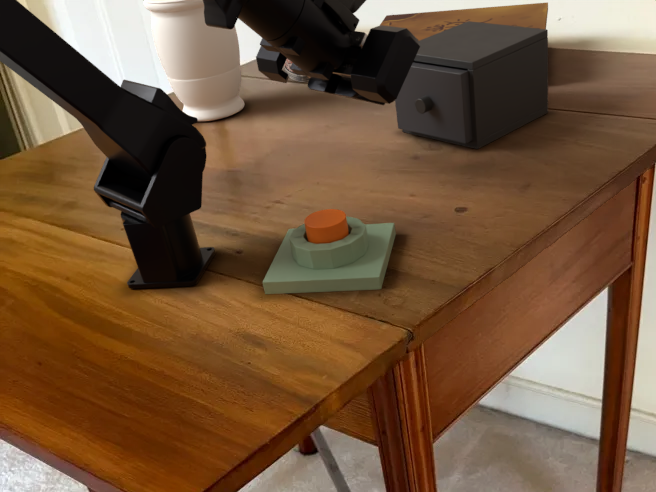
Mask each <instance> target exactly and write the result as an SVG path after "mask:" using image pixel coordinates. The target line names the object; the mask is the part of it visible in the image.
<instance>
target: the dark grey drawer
mask: <svg viewBox="0 0 656 492" xmlns="http://www.w3.org/2000/svg"><path fill="white" fill-rule="evenodd" d="M394 104H395V112H396V114H395V115H396V122H397V129H399V130H402V129H403V130H407V131H412V132H416V133H421V134H425V135H429V136H434V137H438V138H443V139H447V140H451V141H456V142H460V143H465V144H466V143H468V142H470V141H472V140H473V137H472V120H471V104H470V88H469V71H468V69H463V68H457V67H450V66H444V65H437V64H431V63H424V62H417V61H413V63H412V66H411V68H410V70H409V72H408V74H407V77H406V79H405V81H404V83H403V85H402V88H401V90H400V92H399V94H398V97H397V99H396V100H394Z"/></svg>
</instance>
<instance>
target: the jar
mask: <svg viewBox="0 0 656 492" xmlns="http://www.w3.org/2000/svg"><path fill="white" fill-rule="evenodd" d="M142 1H143V2H142V3H143V6H144V8H145V9H146V10H147V11H150V26H151V33H152V34H151V35H152V39H153V43H154V47H155V51H156V55H157V57H158V60H159V62H160V65H161V67H162V69H163V72H164V73H165V75H166V78H167V81H168V83H169V85H170V88H171V90H172V92H173V93H174V95H175V96H176V98H177V100H179V102H181V103H182V105H183V108H182V111H183V112H184V113H186V114H187V115H189V116H192V117H196V118H197V119H198V121H197V122H211V121H218V120H221V119H225V118H228V117H231V116H233V115H236V114H237V113H239V112H241V111H242V110H243V109H244V107H245V105H246V104H245V101H244V99H243V98H242V97H241V96H240V95H239V94H240V90H241V85H242V67H241V52H240V51H241V50H240V41H239V36H238V32H237V28H236V25H235V26H234V28H233V29H231V30H230V29H223V28H216V27H210V26H207V25H206V24H205V18H204V3H203V0H142Z"/></svg>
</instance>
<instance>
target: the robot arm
mask: <svg viewBox="0 0 656 492" xmlns="http://www.w3.org/2000/svg"><path fill="white" fill-rule="evenodd" d="M366 1H367V0H203V3H204V18H205V24H206V25H207V26H210V27H216V28H223V29H230V30H231V29H233V28H234V26H235V27H236V23H237V21H238V20H239V21H240V22H242V23H243V24H245V26H247V27H248V28H249V29H250V30H252V31H253V32H254V33H256V34H257V35H258V37H259V36H260V37H261V40H260V43H259V46H260V47H259V50H258V51H257V53H256V56H255V60H256V65H257V69H258V72H260V73H261V74H262V75H264V77H266V78H268V79H269V80H270V81H273V82H279V83H284V84H287V83H288V81H289V79H290V78H289V76H288V74H287V73H286V72H285V70H284V66H285V62H286V59H287V58H288V59H289V60H290V61H291V62H292V65H291V67H290V69H291V70H292V71H294V72H295V73H296V74H299V75H304V76H307V77H308V78H310V79H309V81H307V88H308V89H309V90H311V91H317V92H321V93H326V94H330V95H336V96H338V97H342V98H343V97H344V98H348V99H353V100H357V101H363V102H367V103H370V104H375V105H381V106H385V105H386V104H388V105H389V104H391V103H393V102H395V100H396V99H397V97H398V94H399V92H400V90H401V88H402V85H403V83H404V81H405V79H406V77H407V74H408V72H409V70H410V68H411V66H412V63H413V61H414V59H415V57H416V55H417V52H418V50H419V48H420V44H419V41H418V39H417V38H416V37H415V36H414V35H413V34H412V33H411V32H410V31H409V30H408V29H407V28H400V27H391V26H383V25H380V24H379V25H377V26H375V27H372V28H370V29H369V31H368V34H367V33H366V32H365V31H356V29H357V26H358V25H359V23H360V19H359V18H358V17H357V16H356V15H355V13H356V12H358V10H359V9H360V8H361V7H363V5H364V3H365V2H366ZM0 62H1V63H2V64H3V65H4V66H6V67H7V68H9V70H11V71H13V72H14V73H15V74H16V75H18V76H19V77H20V78H22V79H23V80H24V81H26V82H27V83H28V84H30V85H31V86H32V87H34V88H35V89H36V90H38V92H40V93H42V94H43V95H44V96H46V97H47V98H48V99H50V100H51V101H52V102H54V103H55V104H56V105H57V106H59V107H60V108H61V109H63V111H65V112H67V113H68V114H69V115H71V116H72V117H73V118H75V119H76V121H78V122H79V123H80V124H81V126H82V128H83V129H84V130H85V132H86V133H87V135H88V137H89V138H90V139H91V141H92V142H93V144H94V145H95V146H96V148H98V149H99V151H100V152H101V153H102V154H104V156H105V157H106V158H105V160H104V162H103V164H102V166H101V169H100V171H99V174H98V177H97V178H96V181H95V183H94V186H93V191H94V193H95V194H96V195H97V196H98V197H99V199H100V200H101V201H102V202H103V204H104V205H105V206H106V207H108V208H113V209H115V210H117V211H119V212H120V218H121V221H122V226H123V228H124V231H125V235H126V237H127V241H128V243H129V246H130V249H131V252H132V255H133V258H134V261H135V263H136V266H137V268H136V270H135V271H134V272H133V273H132V275H131V276H130V277H129V279H128V280H127V282H126V286H127V287H128V288H129V289H147V288H148V289H151V288H152V289H153V288H154V289H155V288H174V287H175V288H176V287H192V286H196V285H197V284H198V282H199V281H200V279H201V278H202V276H203V275H204V273H205V271H206V270H207V269H208V266H209V264H210V263H211V261H212V260H213V258H214V257H215V255H216V253H217V251H216V248H215V247H214V246H206V247H205V246H204V247H201V246H200V243H199V240H198V236H197V234H196V229H195V226H194V224H193V220H192V217H191V213H193V212H196V211H199V210H200V209H202V205H203V203H202V202H203V200H202V199H203V177H204V172H205V171H204V170H205V168H206V163H207V156H208V155H207V149H206V148H207V142H206V139H205V138H204V136H203V134H202V133H201V132H200V130H199V129H198V128H196V126H194V124H196V123H198V122H199V121H198V119H197V118H196V117H192V116H189V115H187V114H186V113H184V112H183V110H181V109H180V107H179V106H177V104H176V103H175V102H174V100H173V99H172V97H170V96H169V95H168V94H167V92H165V91H164V90H163V89H162V88H160V87H156V86H153V85H148V84H144V83H140V82H136V81H132V80H128V79H123V80H122V82H121V84H120V85H119V84H118V83H116V82H115V81H114V80H112V78H110V77H109V76H108V75H107V74H105V72H103V71H102V70H101V69H100V68H98V67H97V66H96V65H95V64H94V63H93V62H92V61H90V60H89V59H88V58H87V57H85V56H84V55H83V54H82V53H80V51H78V50H77V49H76V48H75V47H73V46H72V45H71V44H70V43H69V42H67V41H66V40H65V39H64V38H63V37H61V36H60V35H59V34H58V33H56V32H55V31H54V30H53V29H52V28H51V27H49V26H48V25H47V24H46V23H44V22H43V21H42V20H41V19H40V18H39V17H37V15H36V14H34V13H33V12H32V11H30V9H28V8H27V7H25V6H24V5H23V4H22V3H20V1H18V0H0Z"/></svg>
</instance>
